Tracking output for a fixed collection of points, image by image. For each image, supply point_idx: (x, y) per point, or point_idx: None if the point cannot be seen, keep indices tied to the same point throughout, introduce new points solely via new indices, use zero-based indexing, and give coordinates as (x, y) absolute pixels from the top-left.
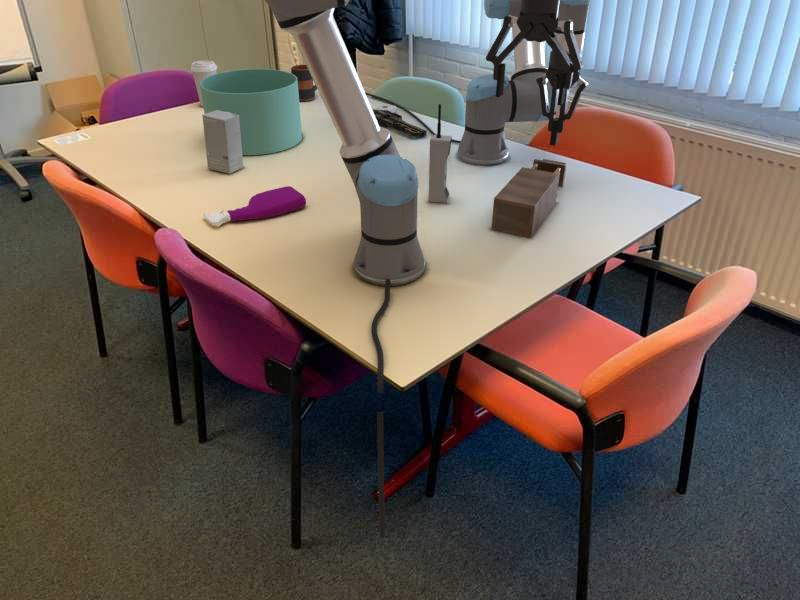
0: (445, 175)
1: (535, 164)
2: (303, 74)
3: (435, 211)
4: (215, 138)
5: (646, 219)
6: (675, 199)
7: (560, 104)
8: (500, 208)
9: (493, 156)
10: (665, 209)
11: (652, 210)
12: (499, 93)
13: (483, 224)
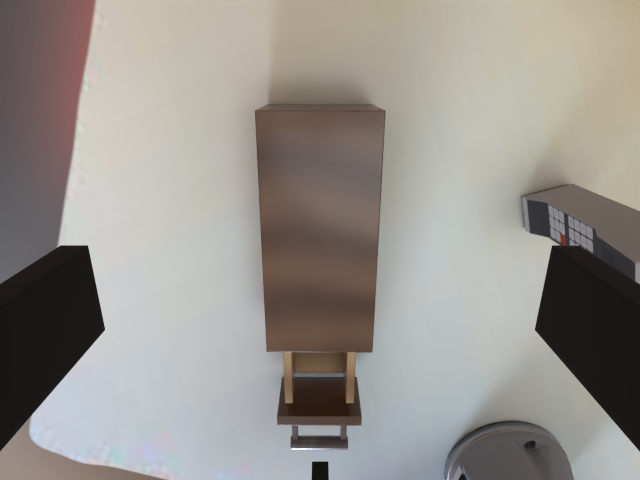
0: (569, 235)
1: (350, 399)
2: None
3: (538, 141)
4: None
5: None
6: (58, 424)
7: (60, 248)
8: (359, 108)
9: (475, 452)
10: None
11: None
12: (567, 261)
13: (399, 125)
